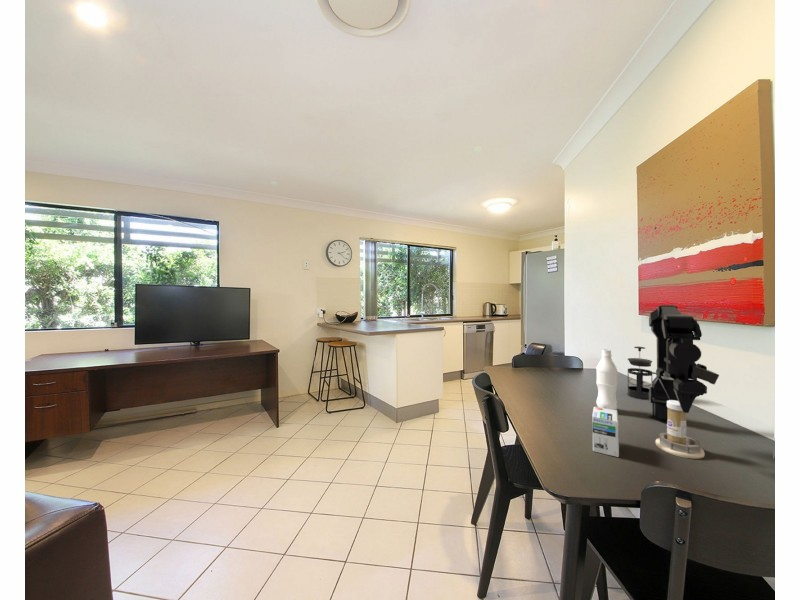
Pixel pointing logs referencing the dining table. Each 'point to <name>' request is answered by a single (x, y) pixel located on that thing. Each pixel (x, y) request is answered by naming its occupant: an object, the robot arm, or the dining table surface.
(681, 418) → the sprinkles bottle
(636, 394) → the french press
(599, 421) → the light bulb box
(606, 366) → the water bottle
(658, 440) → the collar socket
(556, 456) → the dining table surface
